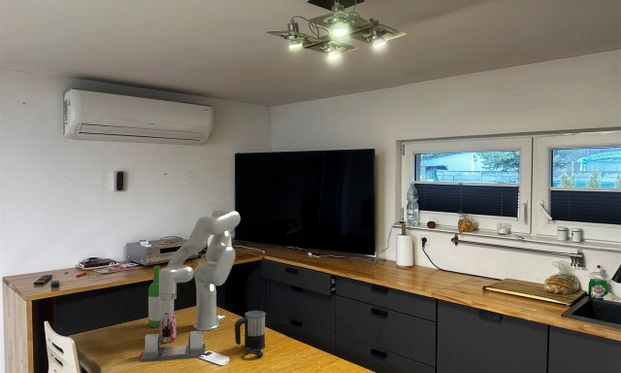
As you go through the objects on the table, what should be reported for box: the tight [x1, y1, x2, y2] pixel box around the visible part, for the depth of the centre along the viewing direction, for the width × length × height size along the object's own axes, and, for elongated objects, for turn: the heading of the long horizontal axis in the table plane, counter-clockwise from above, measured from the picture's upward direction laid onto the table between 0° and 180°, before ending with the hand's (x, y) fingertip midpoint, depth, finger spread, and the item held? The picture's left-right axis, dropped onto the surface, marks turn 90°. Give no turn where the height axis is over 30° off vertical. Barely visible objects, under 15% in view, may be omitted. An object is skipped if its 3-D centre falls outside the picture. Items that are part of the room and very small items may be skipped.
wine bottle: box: [148, 265, 161, 328], centre depth 214 cm, size 8×8×30 cm
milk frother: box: [234, 310, 266, 357], centre depth 184 cm, size 14×16×15 cm
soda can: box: [159, 312, 177, 344], centre depth 195 cm, size 7×7×12 cm
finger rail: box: [140, 330, 206, 363], centre depth 180 cm, size 25×10×8 cm, turn 102°
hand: (167, 333), depth 195 cm, fingers closed on soda can, 7 cm apart
